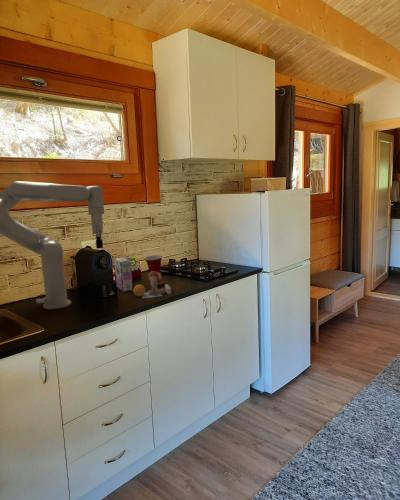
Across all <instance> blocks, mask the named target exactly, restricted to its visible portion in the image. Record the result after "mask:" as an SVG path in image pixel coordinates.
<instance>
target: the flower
mask: <svg viewBox="0 0 400 500" xmlns="http://www.w3.org/2000/svg"><path fill="white" fill-rule="evenodd" d="M150 277H155V279H157V286H159V287H161V286H162V284H163V283H164V278H163V277H162V273H161V272H160V273H158V272H155V271H151V272H149V273H148V274H147V279H148V282H146V283H147V284H149V285H150V286H151V278H150Z"/></svg>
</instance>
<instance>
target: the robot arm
mask: <svg viewBox="0 0 400 500" xmlns="http://www.w3.org/2000/svg"><path fill="white" fill-rule="evenodd" d="M21 201H25V202H48V203H50V202H73V203H75V202H76V203H84V202H86V203H87V211H88V212H87V213H88V215H89V216H90V223H91V232H92V235H93V236H94V235H95V247H96V249H97V250H98V249H103V248H104V245H103V244H104V243H103V238H102V235H103V232H104V231H103V229H104V225H103V224H104V223H103V215H104V214H105V207H104V206H105V205H104V195H103V188H102V186H101V185H88V186H84V185H76V184H75V185H74V184H59V183H51V182H36V181H23V180H22V181H21V180H18V181H17V180H16V181H15V180H14V181H13V182H11V183H10V184H9V185H7V186H6V187H4V189H2V190H1V191H0V235H2V236H4V237H6V238H7V239H9V240H11V241H12V242H14V243H16V244H18V245H20V247H22V248H24V249H28V250H29V251H31V252H33V253H36V254H37V255H39V256H41V270H42V276H43V287H44V293H45V297H43V298H36V301H35V302H36V304H39V305H40V304H42V305H43V306H42V308H44V309H45V310H55V309H56V310H57V309H63V308H66V307H68V306H70V305H71V304H72V300H70V299H68V293H67V284H66V283H67V282H66V274H65V267H64V266H65V265H64V250H63V247H62V245H61V243H60V242H58V241H57V240H55V239H53V238H50V237H49V236H47V235H45V234H43V233H42V232H40V231H38V230H37V229H34V228H33V227H29V226H26V225H25V224H23V223H21V222H19V221H18V220H16V219H14V218H13V217H11V215H10V213H9V211H10V210H11V209H13V208H14V207H15V206H16V205H17V204H19V203H20V202H21Z"/></svg>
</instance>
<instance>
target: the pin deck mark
mask: <svg viewBox="0 0 400 500" xmlns="http://www.w3.org/2000/svg"><path fill="white" fill-rule="evenodd" d="M140 297H141V299H150V298H158V297H163V294H158V295H157V296H153V295H149V293H148V291H145V293H144V295H143V296H140Z"/></svg>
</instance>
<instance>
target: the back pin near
mask: <svg viewBox="0 0 400 500" xmlns="http://www.w3.org/2000/svg"><path fill="white" fill-rule="evenodd" d="M152 289H153V296H157V295H158V291H157V290H158V285H157V279H152Z"/></svg>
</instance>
